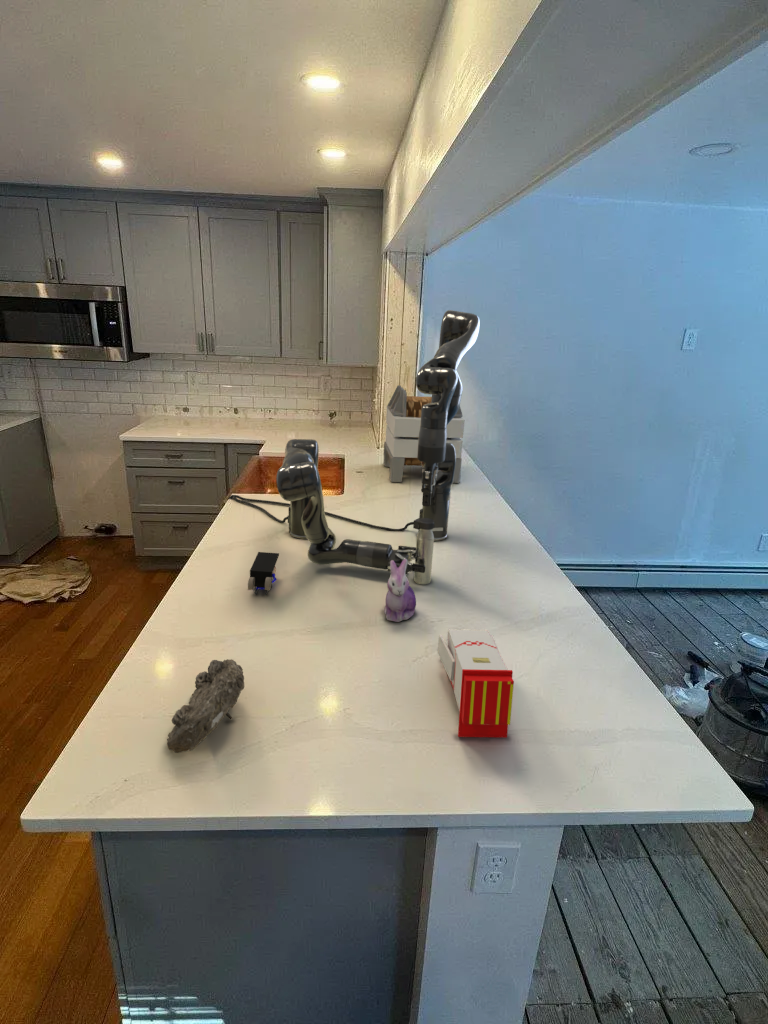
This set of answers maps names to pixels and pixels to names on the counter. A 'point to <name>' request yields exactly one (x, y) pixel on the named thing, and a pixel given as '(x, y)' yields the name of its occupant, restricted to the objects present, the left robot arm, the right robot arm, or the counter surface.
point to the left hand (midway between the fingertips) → (428, 563)
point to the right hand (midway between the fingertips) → (427, 501)
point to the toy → (478, 682)
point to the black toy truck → (263, 572)
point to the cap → (426, 523)
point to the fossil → (206, 705)
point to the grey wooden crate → (413, 434)
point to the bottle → (424, 555)
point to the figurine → (399, 594)
